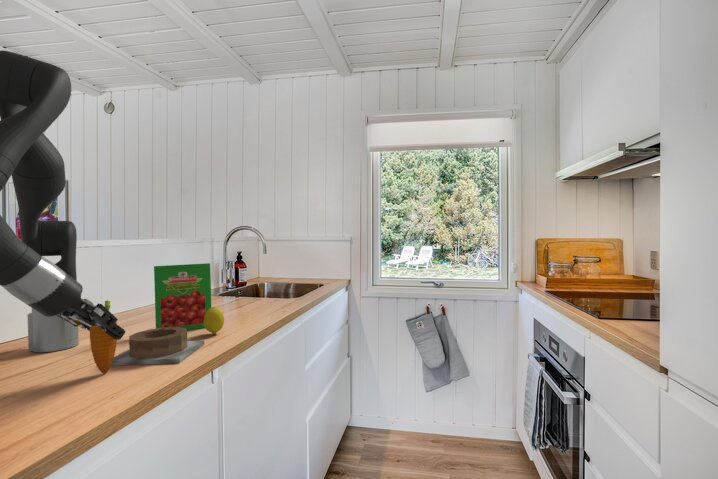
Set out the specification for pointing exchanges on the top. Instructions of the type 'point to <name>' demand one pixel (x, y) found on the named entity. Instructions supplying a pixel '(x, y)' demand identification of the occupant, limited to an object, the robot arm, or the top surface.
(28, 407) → the top surface
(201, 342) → the collar board
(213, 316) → the lemon
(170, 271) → the tomato puree packet
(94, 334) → the carrot
